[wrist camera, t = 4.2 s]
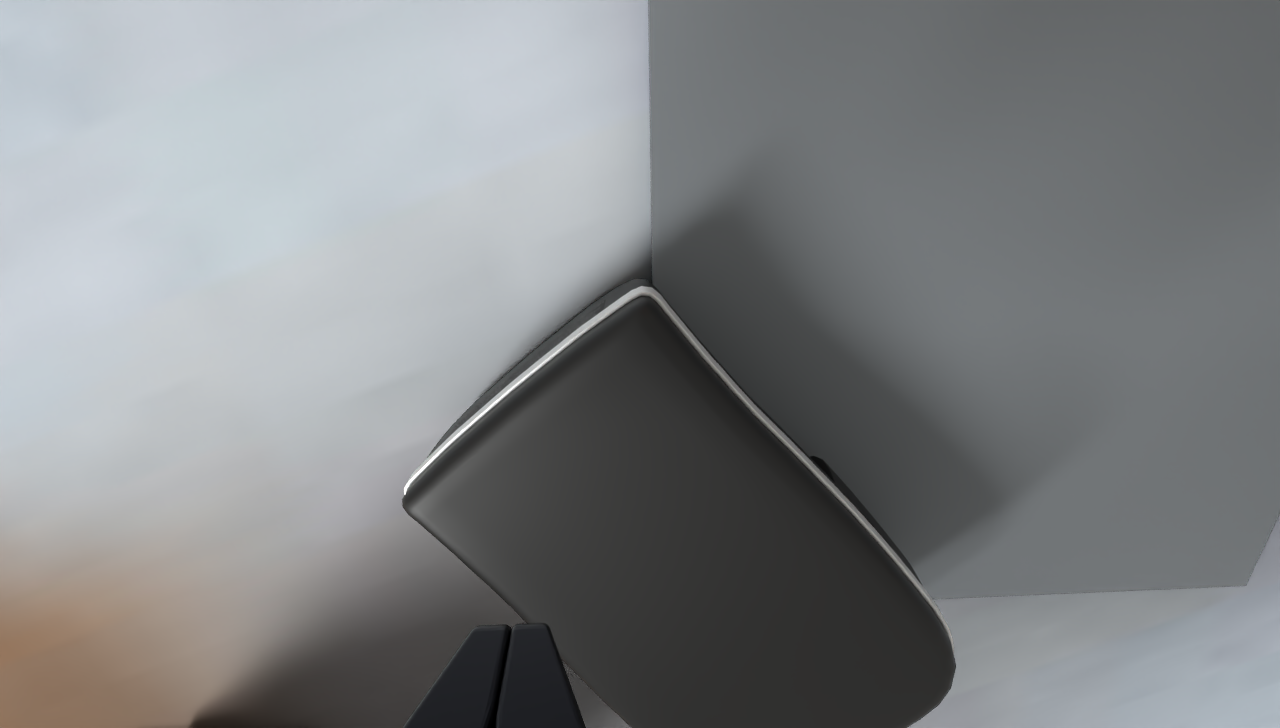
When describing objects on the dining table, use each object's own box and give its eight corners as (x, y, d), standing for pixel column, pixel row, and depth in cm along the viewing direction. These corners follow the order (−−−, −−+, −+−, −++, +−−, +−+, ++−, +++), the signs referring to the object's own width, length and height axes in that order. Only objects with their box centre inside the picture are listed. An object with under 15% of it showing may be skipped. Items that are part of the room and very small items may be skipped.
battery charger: (427, 426, 19) (726, 715, 22) (375, 508, 16) (739, 839, 19) (648, 238, 18) (941, 577, 20) (645, 283, 14) (1001, 686, 17)
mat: (1235, 575, 22) (1245, 586, 22) (656, 600, 22) (657, 611, 22) (1600, -228, 13) (1626, -232, 13) (645, -208, 13) (646, -212, 13)
